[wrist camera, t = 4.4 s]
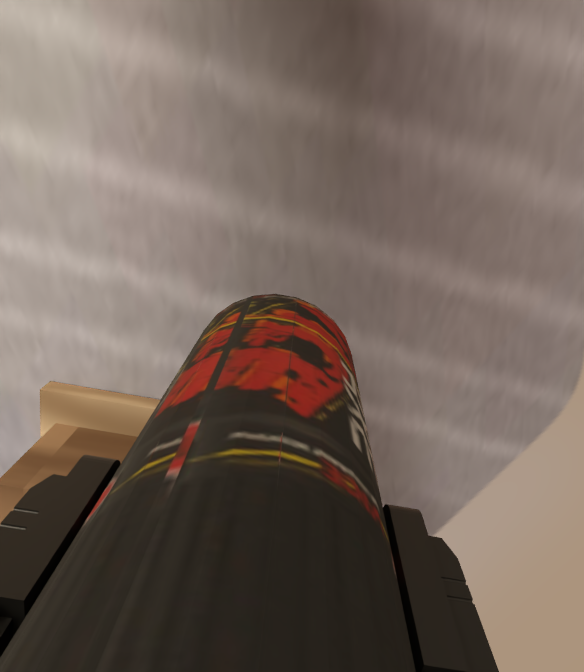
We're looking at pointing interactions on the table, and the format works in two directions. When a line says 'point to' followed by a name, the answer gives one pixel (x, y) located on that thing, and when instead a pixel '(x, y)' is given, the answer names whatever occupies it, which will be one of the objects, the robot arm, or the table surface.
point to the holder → (75, 435)
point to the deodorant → (234, 522)
